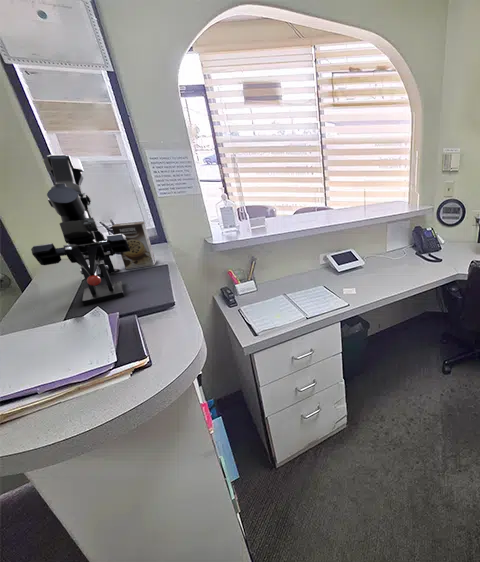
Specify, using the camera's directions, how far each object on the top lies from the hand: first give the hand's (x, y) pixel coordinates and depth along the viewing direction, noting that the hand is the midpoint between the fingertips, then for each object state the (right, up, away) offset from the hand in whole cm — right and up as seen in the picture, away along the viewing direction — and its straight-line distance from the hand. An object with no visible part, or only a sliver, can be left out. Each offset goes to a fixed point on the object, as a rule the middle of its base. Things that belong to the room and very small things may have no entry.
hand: (92, 274), depth 81 cm
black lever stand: (-6, -6, +11) cm, 14 cm away
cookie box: (-15, +4, +37) cm, 40 cm away
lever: (-3, -1, +5) cm, 6 cm away
